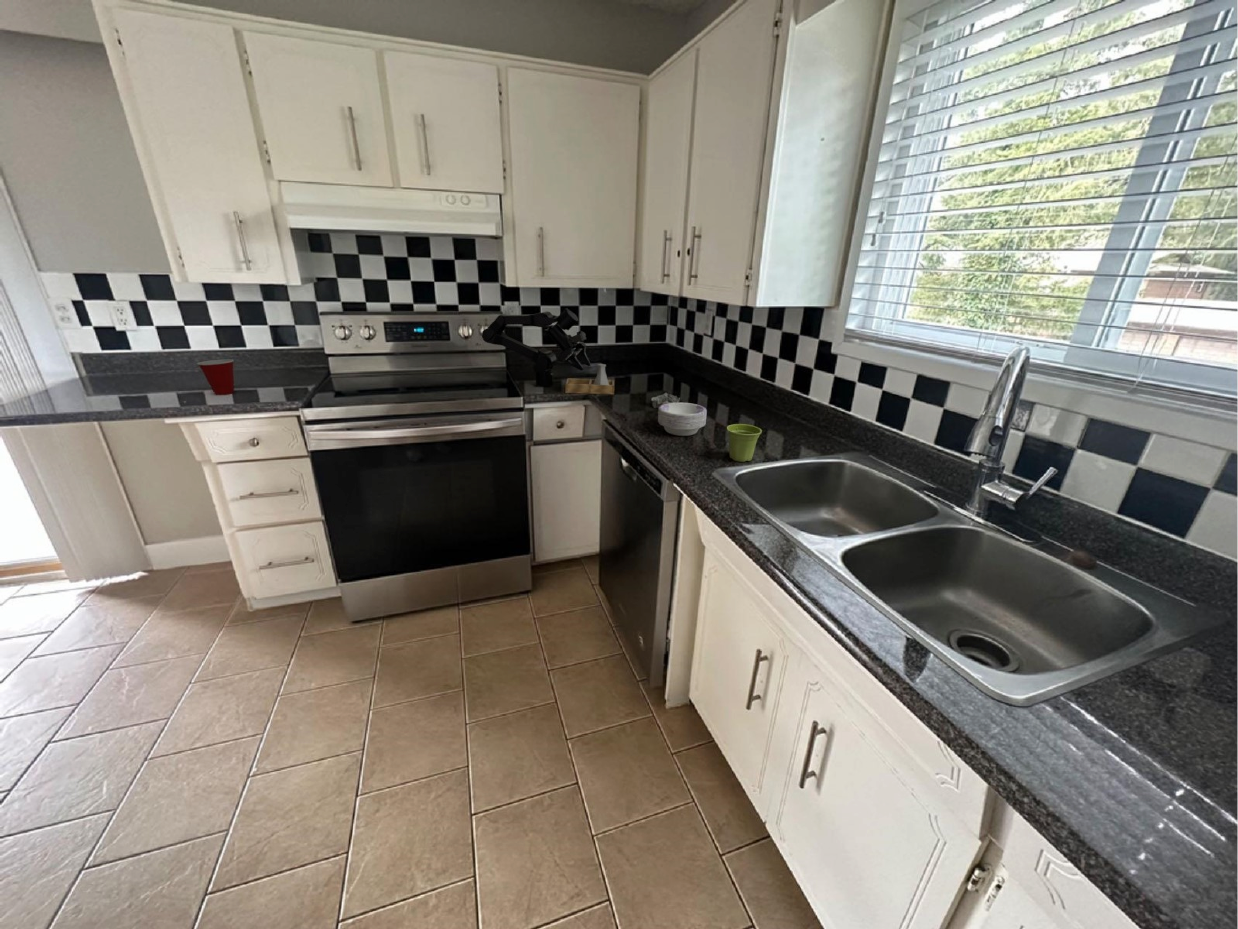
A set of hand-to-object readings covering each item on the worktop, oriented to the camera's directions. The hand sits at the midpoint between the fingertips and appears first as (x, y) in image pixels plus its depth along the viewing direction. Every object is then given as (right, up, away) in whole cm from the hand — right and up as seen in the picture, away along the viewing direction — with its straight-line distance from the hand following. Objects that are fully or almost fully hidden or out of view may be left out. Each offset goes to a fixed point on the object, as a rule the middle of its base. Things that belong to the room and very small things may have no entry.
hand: (586, 367), depth 205 cm
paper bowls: (+33, -29, -44) cm, 62 cm away
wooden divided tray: (+1, -9, +2) cm, 9 cm away
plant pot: (+48, -38, -63) cm, 88 cm away
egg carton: (+31, -18, -16) cm, 39 cm away
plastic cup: (-132, -14, -20) cm, 134 cm away
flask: (+6, -9, +2) cm, 11 cm away
